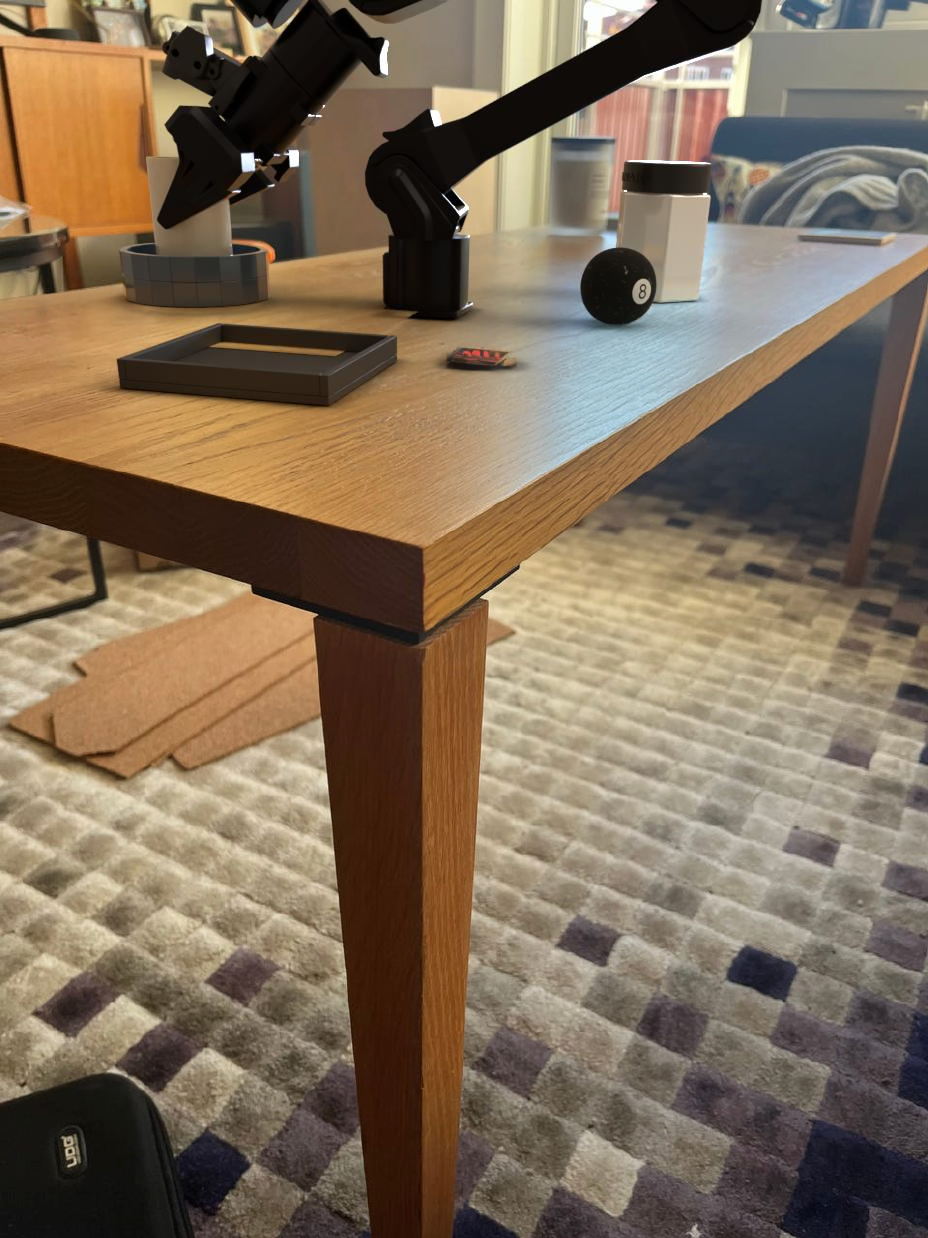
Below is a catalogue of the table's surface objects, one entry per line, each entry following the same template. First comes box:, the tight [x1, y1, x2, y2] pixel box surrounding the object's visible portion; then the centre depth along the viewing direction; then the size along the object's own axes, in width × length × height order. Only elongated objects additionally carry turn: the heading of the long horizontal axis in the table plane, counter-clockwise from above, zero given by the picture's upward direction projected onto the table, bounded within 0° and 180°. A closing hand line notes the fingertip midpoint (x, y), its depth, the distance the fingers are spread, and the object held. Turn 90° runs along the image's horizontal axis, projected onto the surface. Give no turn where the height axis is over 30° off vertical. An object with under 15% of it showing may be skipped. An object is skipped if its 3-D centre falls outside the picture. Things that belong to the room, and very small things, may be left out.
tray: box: [116, 322, 398, 407], centre depth 63 cm, size 13×13×2 cm
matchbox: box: [446, 346, 518, 368], centre depth 68 cm, size 5×5×1 cm
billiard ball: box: [579, 247, 657, 326], centre depth 81 cm, size 6×6×6 cm
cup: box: [145, 155, 233, 256], centre depth 85 cm, size 6×6×11 cm
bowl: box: [118, 242, 271, 308], centre depth 86 cm, size 12×12×4 cm
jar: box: [615, 160, 713, 304], centre depth 96 cm, size 9×8×12 cm
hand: (176, 221), depth 85 cm, fingers closed on cup, 6 cm apart
